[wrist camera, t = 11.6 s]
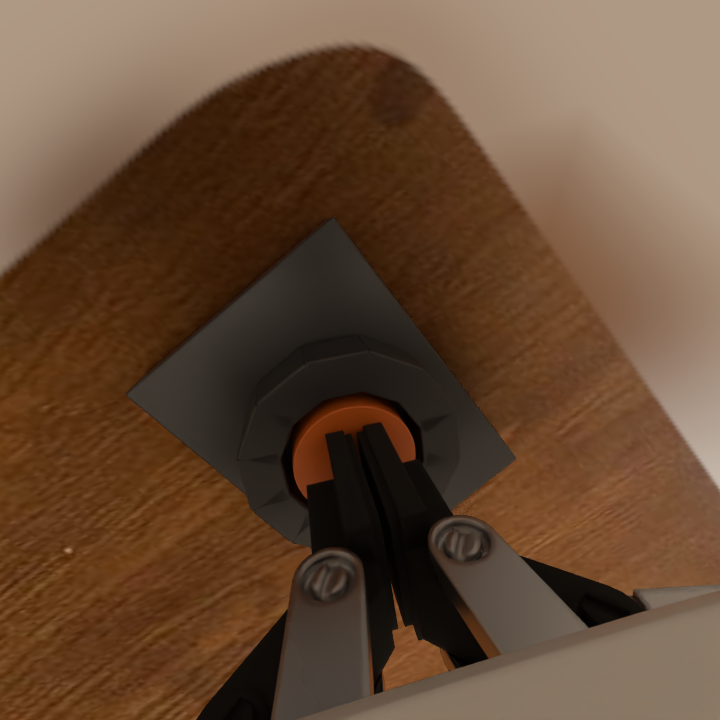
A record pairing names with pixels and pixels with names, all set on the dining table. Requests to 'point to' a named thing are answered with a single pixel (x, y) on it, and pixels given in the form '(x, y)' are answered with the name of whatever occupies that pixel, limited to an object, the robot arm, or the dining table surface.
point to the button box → (313, 380)
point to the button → (350, 418)
